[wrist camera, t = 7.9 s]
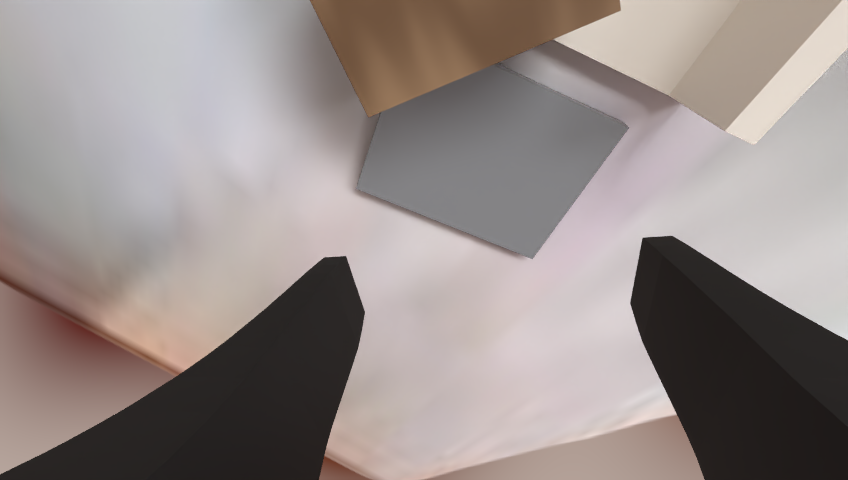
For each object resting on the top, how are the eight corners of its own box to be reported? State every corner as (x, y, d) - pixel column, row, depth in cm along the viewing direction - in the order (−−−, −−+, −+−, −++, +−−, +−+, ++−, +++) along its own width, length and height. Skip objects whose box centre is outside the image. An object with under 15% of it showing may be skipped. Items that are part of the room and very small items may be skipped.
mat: (624, 122, 15) (629, 127, 15) (530, 251, 19) (532, 259, 19) (411, 24, 14) (409, 26, 13) (359, 182, 18) (355, 188, 17)
